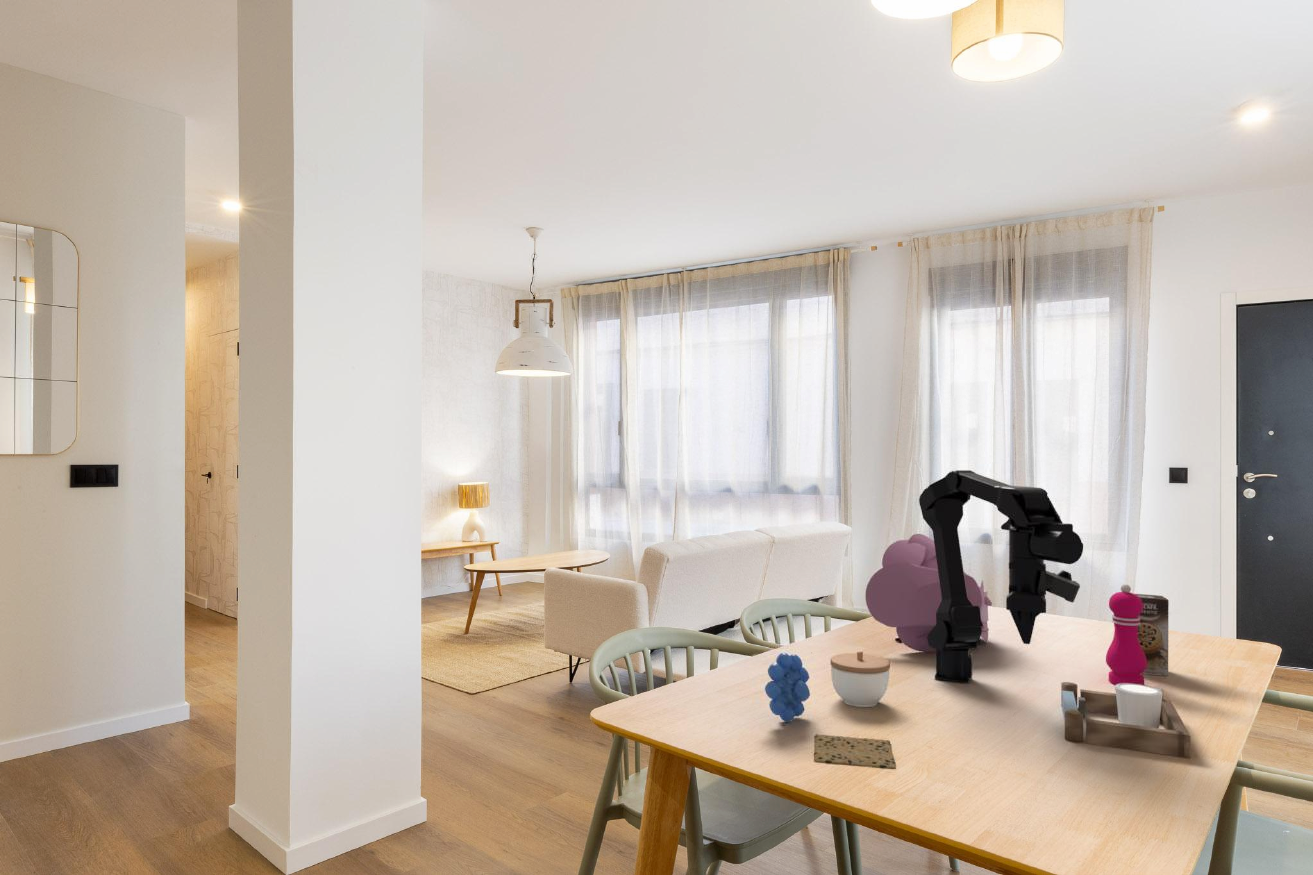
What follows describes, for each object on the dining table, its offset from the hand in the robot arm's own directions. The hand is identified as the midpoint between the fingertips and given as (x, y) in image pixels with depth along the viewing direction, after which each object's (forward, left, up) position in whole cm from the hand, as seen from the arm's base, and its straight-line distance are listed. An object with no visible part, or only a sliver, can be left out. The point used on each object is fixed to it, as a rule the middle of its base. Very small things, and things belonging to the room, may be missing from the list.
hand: (1026, 643), depth 142 cm
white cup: (+17, -3, -12) cm, 21 cm away
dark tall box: (+22, +41, -12) cm, 48 cm away
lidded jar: (-28, -9, -12) cm, 32 cm away
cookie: (-24, -34, -13) cm, 43 cm away
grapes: (-36, -26, -12) cm, 46 cm away
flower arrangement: (-21, +47, -12) cm, 53 cm away
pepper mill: (+18, +28, -12) cm, 35 cm away
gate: (+7, -4, -12) cm, 14 cm away
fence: (+14, -4, -12) cm, 19 cm away
